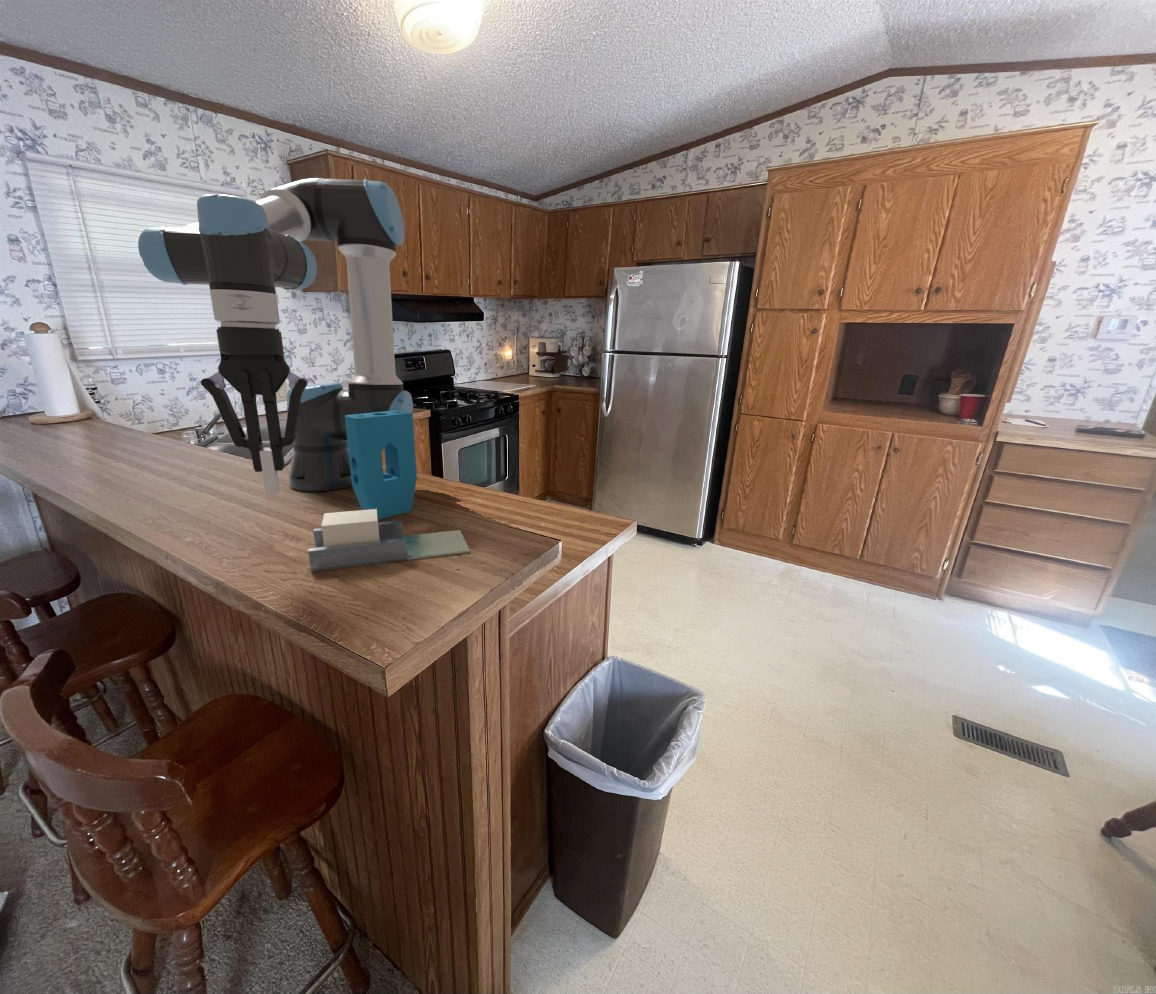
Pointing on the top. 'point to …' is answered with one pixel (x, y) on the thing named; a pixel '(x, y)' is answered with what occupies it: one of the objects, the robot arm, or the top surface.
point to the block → (365, 457)
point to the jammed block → (350, 527)
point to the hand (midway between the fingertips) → (273, 491)
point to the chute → (385, 548)
